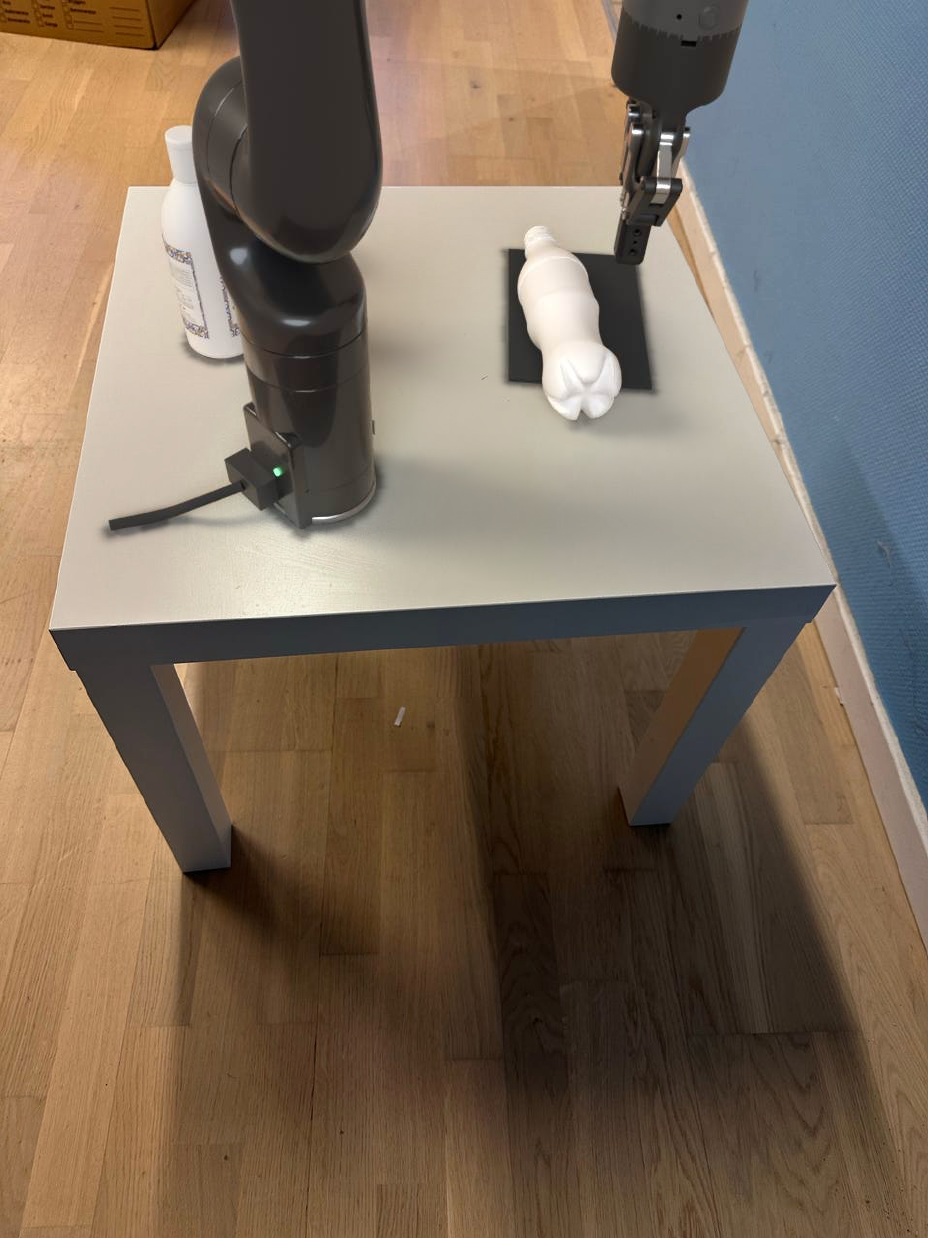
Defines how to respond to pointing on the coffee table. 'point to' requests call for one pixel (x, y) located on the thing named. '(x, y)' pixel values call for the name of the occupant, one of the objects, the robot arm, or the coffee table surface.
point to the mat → (615, 321)
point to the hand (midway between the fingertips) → (627, 259)
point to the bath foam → (195, 257)
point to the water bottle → (566, 329)
